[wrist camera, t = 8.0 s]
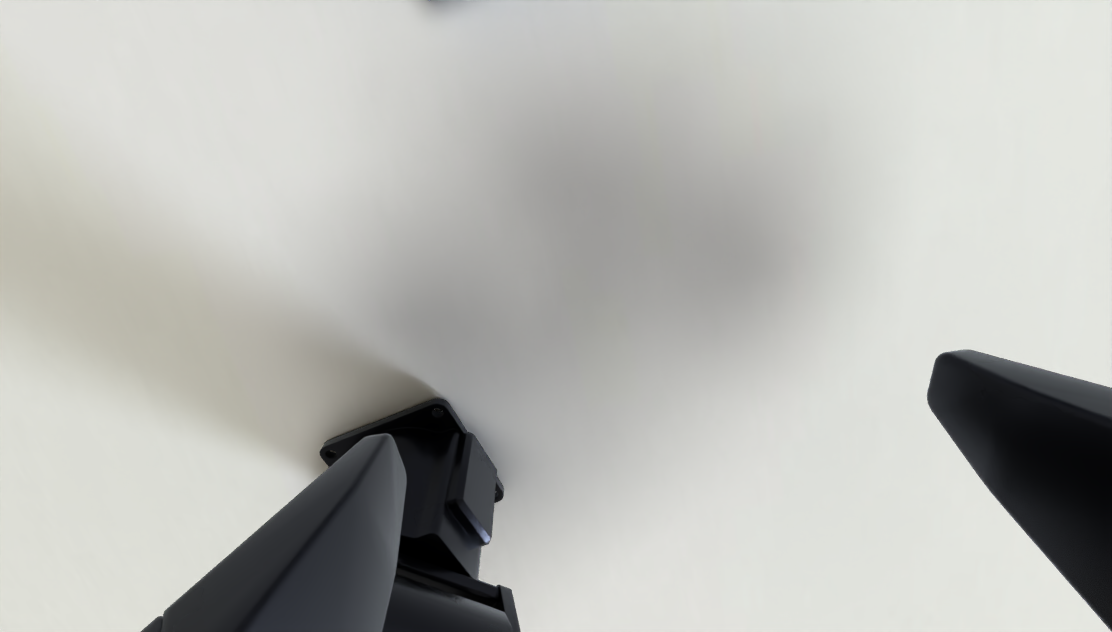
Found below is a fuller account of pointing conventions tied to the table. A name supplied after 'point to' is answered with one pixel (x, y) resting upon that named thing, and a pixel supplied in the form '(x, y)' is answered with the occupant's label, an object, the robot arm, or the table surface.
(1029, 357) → the table surface
